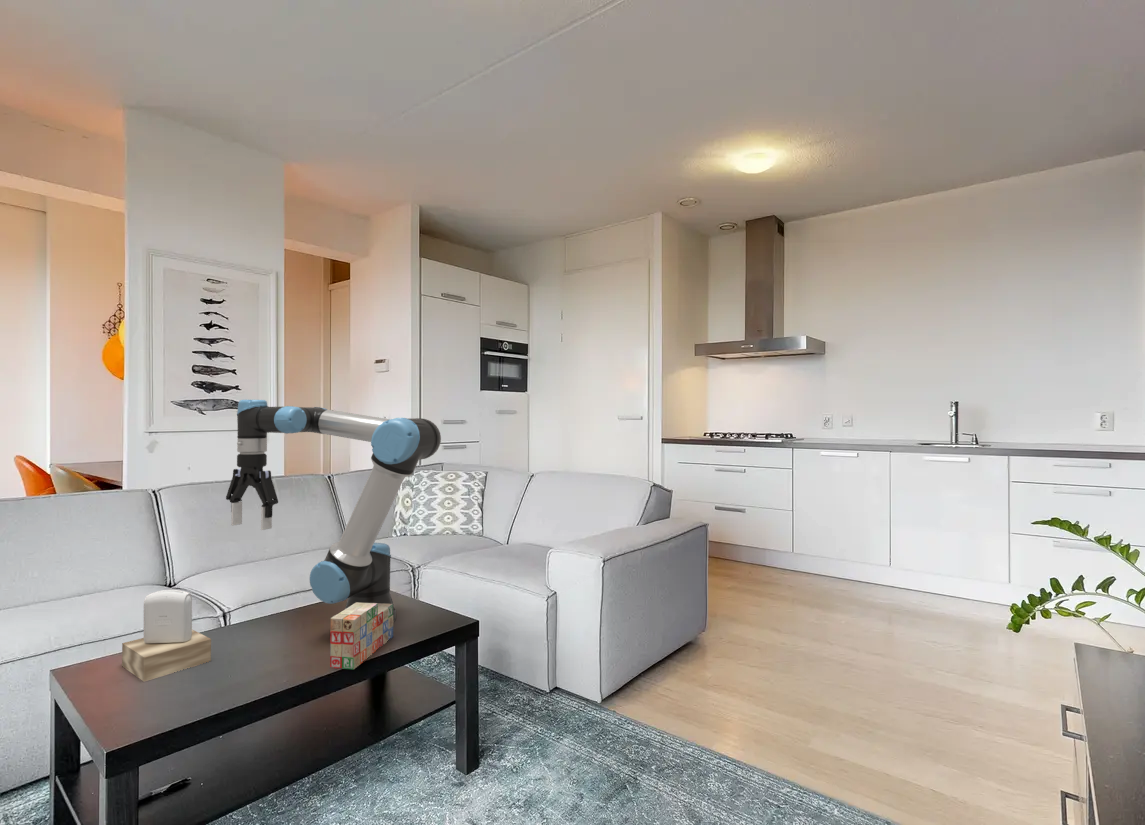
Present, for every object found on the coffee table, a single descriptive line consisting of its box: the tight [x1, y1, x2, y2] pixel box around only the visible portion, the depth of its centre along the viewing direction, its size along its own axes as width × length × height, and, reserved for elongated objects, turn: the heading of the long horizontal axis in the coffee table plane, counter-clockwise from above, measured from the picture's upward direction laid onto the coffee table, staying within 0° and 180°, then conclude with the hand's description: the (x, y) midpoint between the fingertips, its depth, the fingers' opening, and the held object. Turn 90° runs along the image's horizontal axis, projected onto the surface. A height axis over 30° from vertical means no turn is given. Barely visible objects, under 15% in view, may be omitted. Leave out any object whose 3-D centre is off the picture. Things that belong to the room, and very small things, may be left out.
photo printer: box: [143, 589, 193, 643], centre depth 144 cm, size 10×4×12 cm, turn 96°
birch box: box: [121, 629, 212, 683], centre depth 143 cm, size 14×14×6 cm
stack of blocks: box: [329, 602, 394, 670], centre depth 152 cm, size 21×6×12 cm, turn 172°
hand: (251, 527), depth 169 cm, fingers open, 13 cm apart
